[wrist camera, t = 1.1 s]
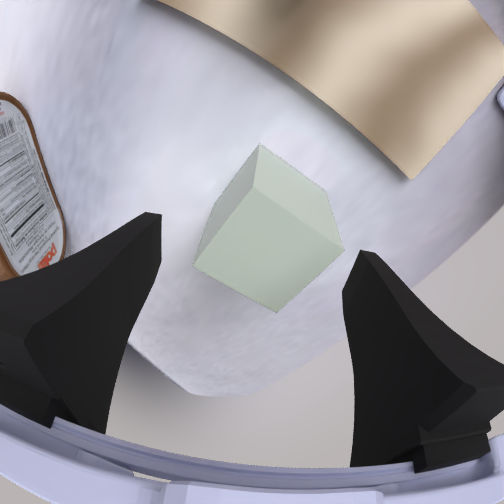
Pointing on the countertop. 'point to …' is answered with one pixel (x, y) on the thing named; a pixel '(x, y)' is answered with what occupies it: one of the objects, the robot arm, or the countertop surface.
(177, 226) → the countertop surface
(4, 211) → the tin
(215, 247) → the pale green block
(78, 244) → the countertop surface
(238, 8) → the board
